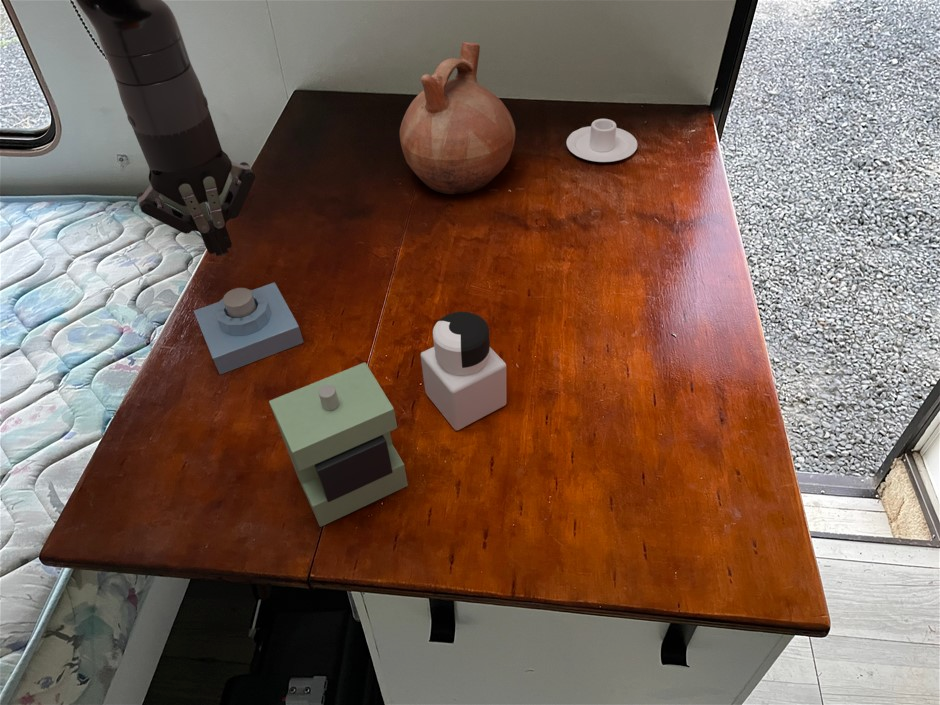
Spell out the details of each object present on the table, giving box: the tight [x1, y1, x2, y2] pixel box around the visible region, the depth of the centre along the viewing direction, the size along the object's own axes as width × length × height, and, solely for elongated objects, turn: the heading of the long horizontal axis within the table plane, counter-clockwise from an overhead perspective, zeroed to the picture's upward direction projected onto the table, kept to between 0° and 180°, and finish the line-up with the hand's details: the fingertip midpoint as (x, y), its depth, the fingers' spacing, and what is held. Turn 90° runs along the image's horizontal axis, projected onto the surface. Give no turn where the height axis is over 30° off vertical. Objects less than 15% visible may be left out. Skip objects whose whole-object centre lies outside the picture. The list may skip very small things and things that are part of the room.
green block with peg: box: [268, 362, 409, 528], centre depth 71 cm, size 10×7×15 cm
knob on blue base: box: [193, 281, 305, 376], centre depth 91 cm, size 11×10×5 cm
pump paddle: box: [314, 435, 393, 502], centre depth 69 cm, size 7×1×5 cm, turn 119°
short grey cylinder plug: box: [222, 287, 256, 318], centre depth 89 cm, size 4×4×2 cm
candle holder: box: [566, 118, 638, 163], centre depth 120 cm, size 12×12×4 cm
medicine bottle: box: [420, 311, 508, 432], centre depth 79 cm, size 7×7×12 cm
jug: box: [399, 41, 516, 195], centre depth 110 cm, size 18×18×20 cm
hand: (220, 251), depth 83 cm, fingers closed
